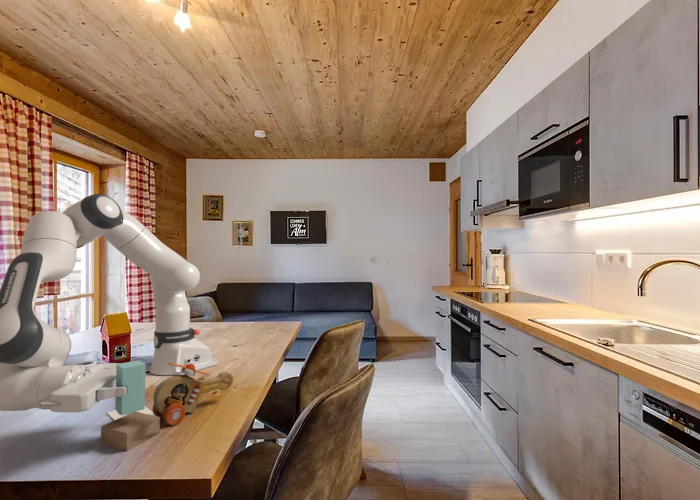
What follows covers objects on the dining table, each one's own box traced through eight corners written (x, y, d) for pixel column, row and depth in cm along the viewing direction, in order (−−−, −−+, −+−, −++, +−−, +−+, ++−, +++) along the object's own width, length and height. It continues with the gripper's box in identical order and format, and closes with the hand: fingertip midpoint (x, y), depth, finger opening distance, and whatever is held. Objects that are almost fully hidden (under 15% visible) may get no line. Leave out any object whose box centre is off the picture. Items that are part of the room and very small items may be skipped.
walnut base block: (134, 428, 84) (134, 411, 84) (159, 434, 82) (159, 417, 82) (100, 445, 77) (101, 426, 77) (126, 452, 74) (127, 433, 74)
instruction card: (141, 403, 97) (141, 402, 97) (156, 416, 90) (156, 415, 90) (107, 413, 92) (107, 412, 92) (120, 427, 84) (120, 426, 84)
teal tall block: (137, 403, 82) (138, 360, 83) (144, 409, 79) (145, 364, 80) (115, 409, 79) (116, 364, 79) (121, 415, 76) (122, 368, 76)
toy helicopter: (147, 420, 88) (148, 364, 88) (223, 395, 104) (224, 348, 104) (161, 430, 83) (161, 371, 83) (239, 402, 99) (239, 353, 99)
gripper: (31, 389, 67) (110, 386, 69) (93, 359, 87) (153, 357, 89) (30, 423, 67) (110, 419, 69) (93, 384, 87) (152, 382, 89)
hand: (134, 384), depth 79 cm, fingers closed on teal tall block, 6 cm apart
